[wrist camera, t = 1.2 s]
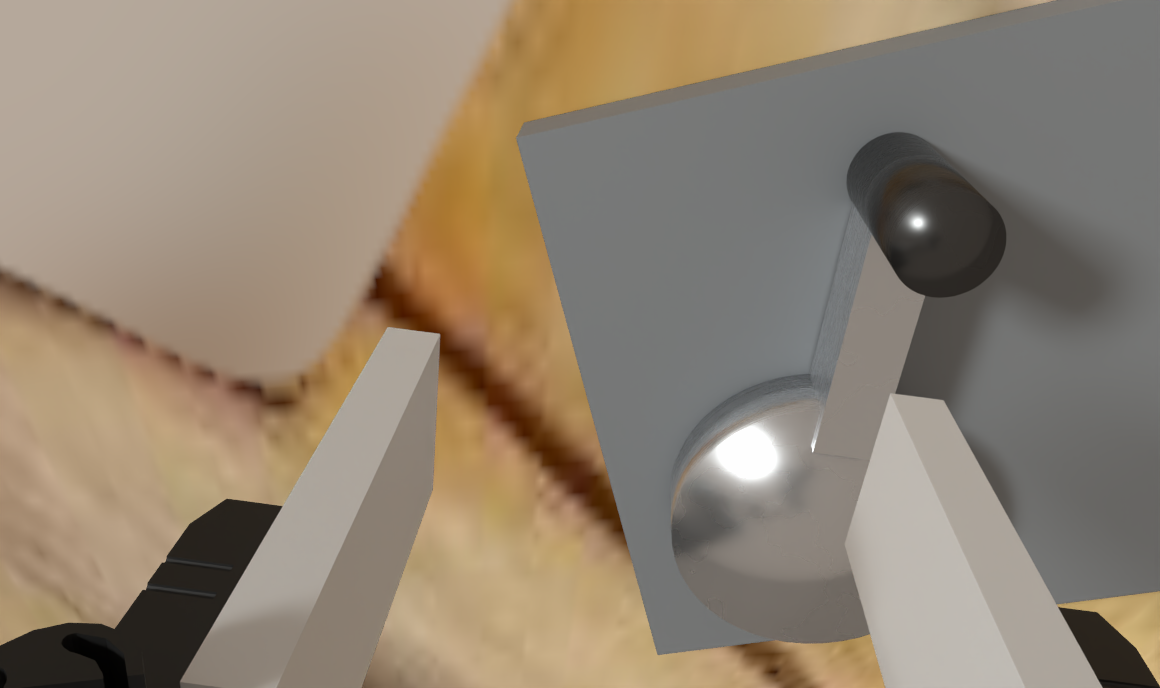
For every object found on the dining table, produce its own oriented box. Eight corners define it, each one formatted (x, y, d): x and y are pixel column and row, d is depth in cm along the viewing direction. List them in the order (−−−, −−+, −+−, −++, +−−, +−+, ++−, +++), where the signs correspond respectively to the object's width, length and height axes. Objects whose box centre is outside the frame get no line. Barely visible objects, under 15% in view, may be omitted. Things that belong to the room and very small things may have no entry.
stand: (657, 620, 40) (657, 660, 38) (524, 122, 31) (515, 140, 29) (1293, 535, 36) (1332, 575, 34) (1361, -70, 27) (1420, -66, 25)
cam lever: (906, 613, 36) (949, 741, 31) (651, 579, 36) (652, 701, 31) (1070, 153, 28) (1169, 219, 23) (740, 111, 28) (760, 166, 23)
